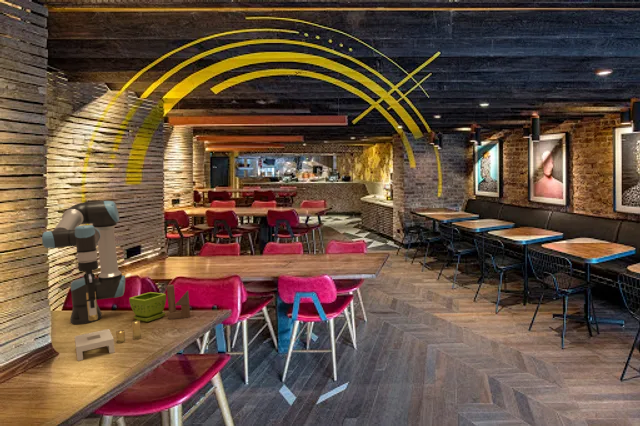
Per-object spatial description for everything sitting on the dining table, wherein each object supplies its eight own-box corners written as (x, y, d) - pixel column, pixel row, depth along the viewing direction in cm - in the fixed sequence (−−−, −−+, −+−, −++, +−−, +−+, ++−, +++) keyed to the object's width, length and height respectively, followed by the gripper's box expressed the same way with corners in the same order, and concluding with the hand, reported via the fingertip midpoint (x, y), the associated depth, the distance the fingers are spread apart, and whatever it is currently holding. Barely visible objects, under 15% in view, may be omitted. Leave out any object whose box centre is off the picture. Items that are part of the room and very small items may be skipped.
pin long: (88, 319, 185) (85, 292, 184) (97, 317, 187) (95, 290, 186) (89, 321, 182) (86, 294, 181) (98, 319, 184) (95, 292, 183)
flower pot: (168, 316, 230) (166, 293, 229) (146, 324, 218) (144, 300, 217) (152, 313, 237) (150, 291, 236) (129, 320, 225) (127, 297, 224)
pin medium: (132, 338, 199) (131, 321, 198) (140, 336, 201) (139, 319, 200) (133, 340, 196) (132, 323, 195) (142, 338, 198) (140, 321, 197)
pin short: (116, 341, 195) (115, 331, 195) (124, 339, 197) (123, 329, 197) (117, 344, 192) (116, 333, 192) (125, 342, 194) (124, 331, 194)
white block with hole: (75, 349, 188) (74, 336, 188) (110, 341, 196) (109, 328, 195) (77, 361, 175) (76, 347, 174) (114, 352, 182) (113, 338, 182)
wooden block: (188, 318, 225) (186, 285, 224) (168, 319, 224) (165, 286, 223) (190, 315, 229) (187, 283, 227) (170, 317, 228) (167, 284, 226)
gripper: (76, 259, 188) (81, 311, 189) (79, 265, 174) (84, 320, 175) (95, 257, 192) (100, 307, 193) (99, 262, 178) (104, 316, 179)
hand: (92, 313), depth 184 cm, fingers closed on pin long, 3 cm apart
